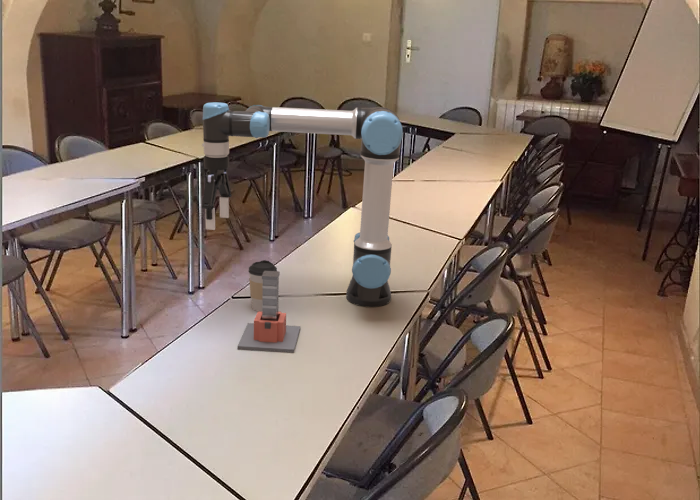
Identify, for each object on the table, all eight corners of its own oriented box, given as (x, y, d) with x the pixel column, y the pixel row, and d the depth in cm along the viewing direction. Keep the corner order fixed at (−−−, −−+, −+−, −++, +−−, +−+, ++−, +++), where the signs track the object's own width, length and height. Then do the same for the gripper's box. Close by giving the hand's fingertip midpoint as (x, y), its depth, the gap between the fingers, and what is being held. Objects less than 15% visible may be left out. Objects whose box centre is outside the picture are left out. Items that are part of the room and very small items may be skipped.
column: (278, 332, 210) (279, 271, 205) (276, 338, 206) (277, 276, 200) (263, 331, 211) (264, 270, 205) (261, 337, 206) (261, 275, 200)
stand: (300, 329, 216) (300, 307, 214) (293, 352, 201) (294, 329, 199) (247, 326, 217) (247, 304, 214) (237, 349, 201) (237, 325, 199)
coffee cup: (271, 314, 226) (272, 269, 221) (244, 310, 227) (244, 266, 223) (280, 303, 234) (280, 260, 230) (253, 300, 236) (253, 257, 231)
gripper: (217, 147, 227) (218, 212, 233) (189, 162, 203) (191, 233, 210) (240, 148, 226) (240, 213, 232) (215, 163, 202) (216, 235, 209)
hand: (217, 223), depth 221 cm, fingers open, 13 cm apart
